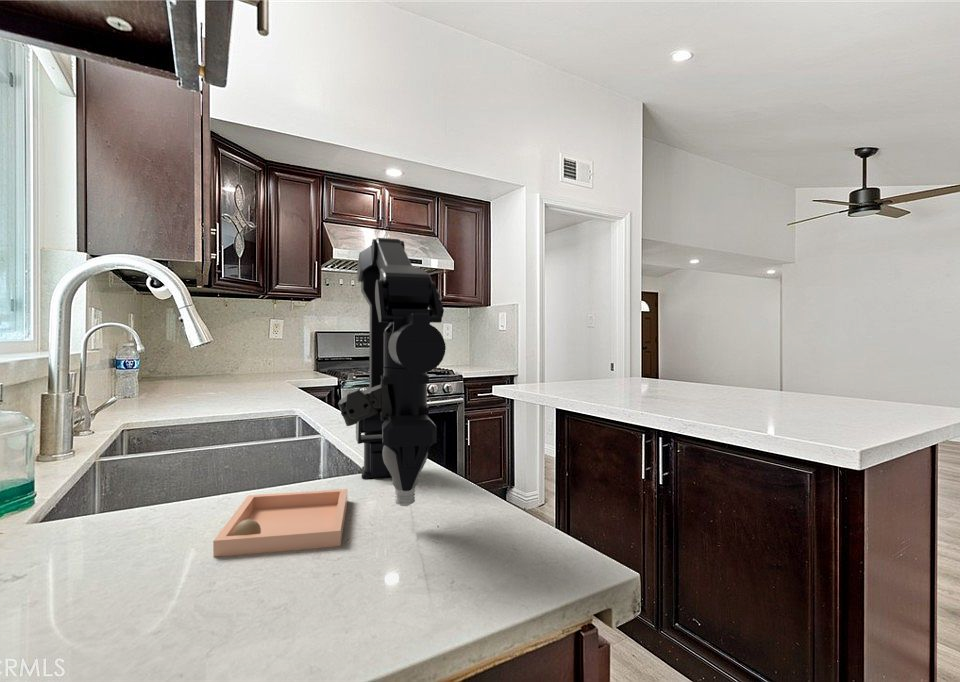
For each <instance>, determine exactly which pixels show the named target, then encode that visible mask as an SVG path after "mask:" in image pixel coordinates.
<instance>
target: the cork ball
mask: <svg viewBox="0 0 960 682" xmlns="http://www.w3.org/2000/svg"><path fill="white" fill-rule="evenodd" d="M260 533H261V528H260V525H259V524H258V522H256V521H255V520H252V519H247V520H243V521H241V522H240V523H239V524H238V525H237V526H236V527H235V529H234V533H233V536H238V535H251V534H260Z"/></svg>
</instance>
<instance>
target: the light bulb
mask: <svg viewBox="0 0 960 682" xmlns="http://www.w3.org/2000/svg"><path fill="white" fill-rule="evenodd" d="M382 456H383V461H384V464H385V465H386V467H387V469H388V471H389V472H390V474H391V479H392V485H393V486H394V487H393V488H394V489H395V490H394V494H395V497H394V498H395V499H394V501H395V502H394V503H395V504H396V505H399V506H400V507H408V506H410V505H412V504H415V503H416V493H415V492H416V486H417V484H418V481H419V475H420V474H421V472H422V471H423V468H424V466H425V464H426V463H427V460H428V456H429V451H428V452H427V454H426V457H425V459H424V461H423V463H422V466H421V468H420V470H419V473H418V475H417V477H416V480H415V482H414V484H413V487H412V489H411V490H410V491H403V490H402V486H401V481H400V475H399V470H398V465H397V460H396V455H395V453H394V452H393V451H392V450H391V449H389V448H388V447H386V446H385V445H384V447H383V451H382Z"/></svg>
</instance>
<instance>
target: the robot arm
mask: <svg viewBox="0 0 960 682" xmlns="http://www.w3.org/2000/svg"><path fill="white" fill-rule="evenodd" d="M371 241H372V242H371V245H370V246H368V247H367V248H365V249H364V250H362V251H360V252H359V253H358V254H359V255H358V260H357V269H356V271H357V272H356V273H357V274H356V275H357V282H358V283H360V292H361V294H362V295H363V298H364V299H365V300H366V302H367V303H368V305H369V383H368V387H367V388H366V389H363V390H361V389H359V388H357V389H356V390H354V391H352V392H350V391H349V392H347V395H346V397H342V398H341V399H339V400H338V403H337V404H338V405H337V406H338V407H339V409H340V410H339V411H340V414H341V416H342V417H343V419H344V420H343V421H344V423H345V425H346V427H350V426H354V425H355V439H356V440H355V441H356V442H357V444H358V445H359V444H363V466H361V479H371V478H387V477H388V478H389V477H391V478H392V476H391V474H390V472H389V471H388V469H387V467H386V465H385V464H384V461H383V456H382V451H383V447H384V445H385V446H386V447H388V448H389V449H391V450H392V451H393V452H394V453H395V455H396V460H397V465H398V470H399V475H400V481H401V486H402V490H403V491H410V490H411V489H412V487H413V484H414V482H415V480H416V477H417V475H418V473H419V470H420V468H421V466H422V463H423V461H424V459H425V457H426V454H427V452H428V453H429V450H430V447H431V446H432V445H433V444H436V443H437V438H438V436H437V434H438V433H437V432H438V430H437V428H438V427H437V425H436V424H435V423H434V421H433V420H432V419H431V418H430V417H429V415H430V412H429V411H430V407H429V405H428V384H429V383H430V375H428V372H431V371H433V370H435V369H436V368H437V367H438V366H439V365H440V364H441V363H442V362H443V360H444V357H445V354H446V349H447V348H446V342H445V340H444V336H443V335H442V333H441V331H440V330H438V328H437V327H435V326H433V325H432V324H431V323H433V324H434V323H435V324H436V323H437V324H438V323H439V324H441V323H442V321H443V320H442V318H443V316H444V312H445V310H444V306H443V303H442V298H441V295H440V292H439V290H438V289H437V286H436V282H435V281H433V280H432V277H431V275H430V274H429V273H428V271H426V270H425V269H423V268H419V267H418V268H417V267H414V266H413V264H412V263H411V260H410V259H409V256H408V254H407V252H406V250H405V242H404V240H401V239H400V238H385V237H377V238H373V239H372V240H371Z"/></svg>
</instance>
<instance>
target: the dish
mask: <svg viewBox="0 0 960 682" xmlns="http://www.w3.org/2000/svg"><path fill="white" fill-rule="evenodd" d="M348 492H349V491H348V489H347V488H342V489H329V490H328V489H325V490H312V491H311V490H310V491H293V492H280V493H265V494H262V493H261V494H248V495H247V496H246V498H245V499H244V500H243V501H242V503H241V504H240V505H239V506H238V508H237V509H236V510H235V511H234V513H233V515H232V516H231V517H230V518H229V520H228V521H227V523H225V525H224V527H222V528H221V530H220V531H219V533H218V534H217V536H216V537H215V538H214V539H213V542H212V543H213V549H212V551H213V556H212V557H213V558H216V557H227V556H228V557H229V556H236V555H237V556H238V555H252V554H262V553H263V554H264V553H274V552H275V553H276V552H284V551H287V552H288V551H298V550H309V549H319V548H320V549H321V548H332V547H333V548H334V547H341V546H342V545H341V544H342V540H343V532H344V527H345V519H346V514H347V508H348V507H347V506H348V500H349V499H348V494H349V493H348ZM247 519H252V520H255V521H256V522H258V524H259V525H260V528H261V533H260V534H251V535H238V536H233V533H234V529H235V527H236V526H237V525H238V524H239V523H240V522H241V521H243V520H247Z"/></svg>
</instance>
